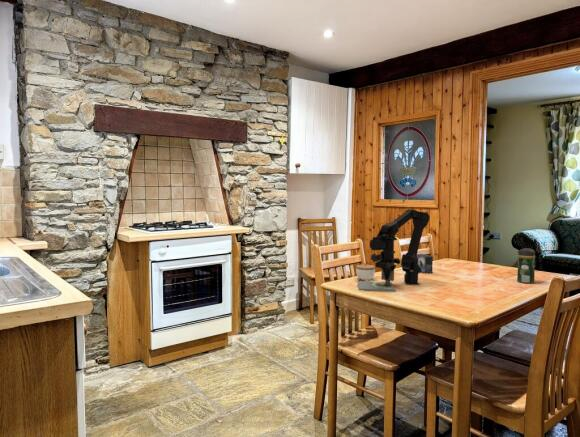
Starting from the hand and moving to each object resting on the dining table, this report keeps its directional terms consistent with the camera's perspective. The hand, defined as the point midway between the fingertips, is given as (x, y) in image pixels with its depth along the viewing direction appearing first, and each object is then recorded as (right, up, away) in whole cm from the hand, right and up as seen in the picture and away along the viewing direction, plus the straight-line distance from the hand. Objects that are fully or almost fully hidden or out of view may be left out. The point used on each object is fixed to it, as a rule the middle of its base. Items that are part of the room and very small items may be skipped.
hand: (387, 279), depth 214 cm
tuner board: (-6, -4, +1) cm, 7 cm away
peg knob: (-3, -3, +2) cm, 5 cm away
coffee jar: (+79, -4, +14) cm, 80 cm away
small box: (+32, -2, +43) cm, 53 cm away
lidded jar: (-8, -3, +19) cm, 21 cm away
